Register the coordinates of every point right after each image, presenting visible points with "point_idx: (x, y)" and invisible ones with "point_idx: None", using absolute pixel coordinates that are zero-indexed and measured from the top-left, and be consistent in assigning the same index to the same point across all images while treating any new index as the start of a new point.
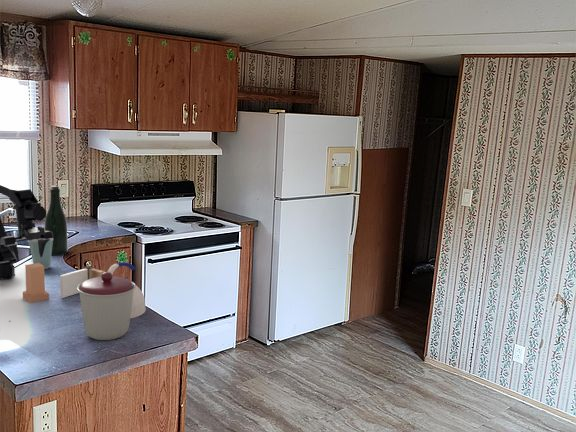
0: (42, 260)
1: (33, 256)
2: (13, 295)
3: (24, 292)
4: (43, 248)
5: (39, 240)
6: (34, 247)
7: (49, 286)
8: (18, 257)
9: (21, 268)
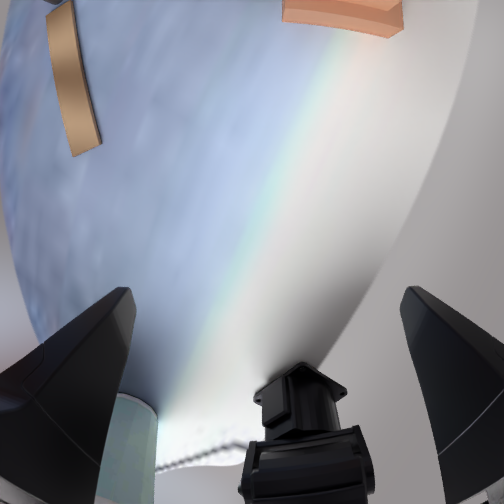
0: (120, 423)
1: (149, 455)
2: (410, 107)
3: (399, 9)
4: (46, 348)
5: (61, 501)
6: (135, 487)
7: (177, 134)
8: (432, 308)
9: (199, 437)
